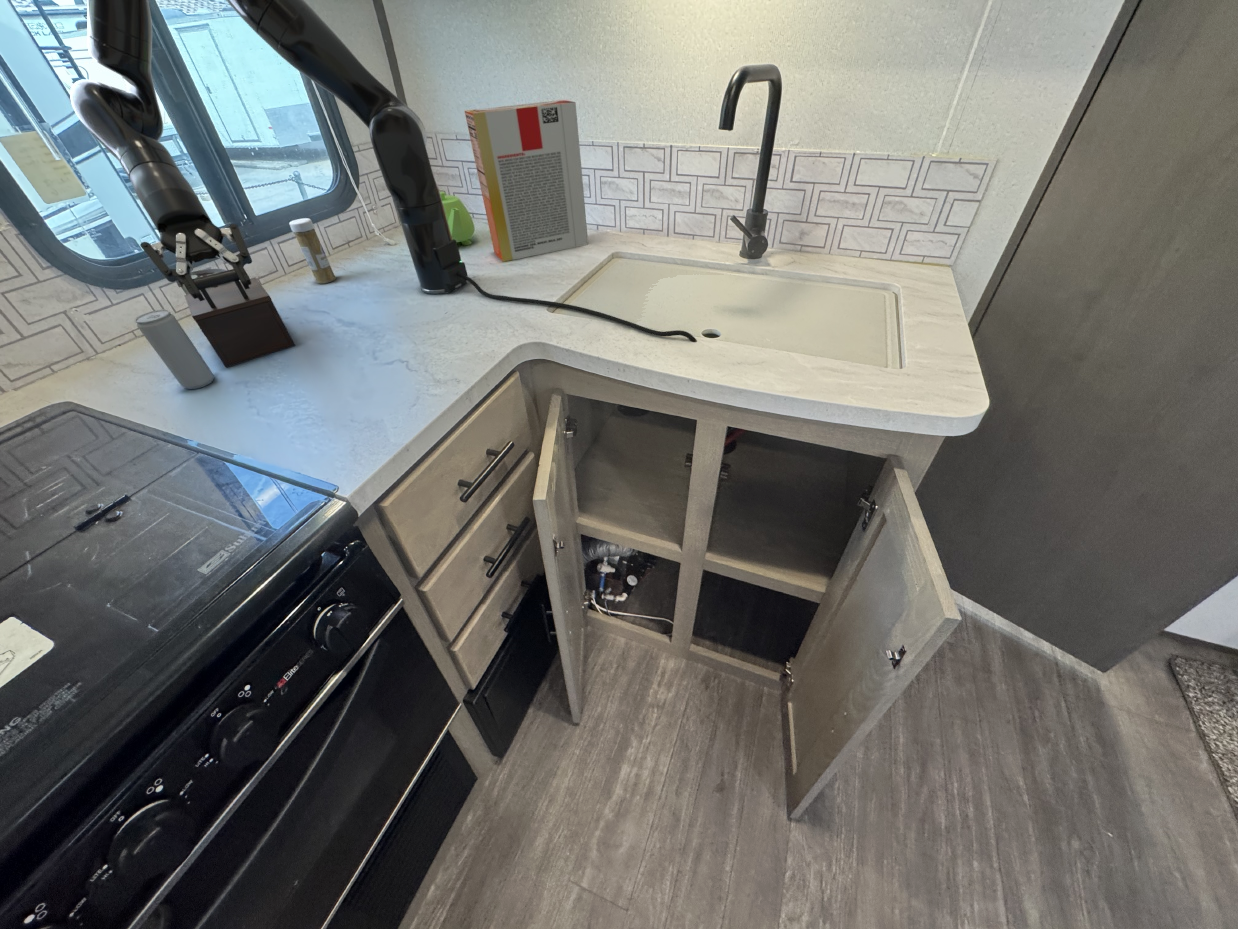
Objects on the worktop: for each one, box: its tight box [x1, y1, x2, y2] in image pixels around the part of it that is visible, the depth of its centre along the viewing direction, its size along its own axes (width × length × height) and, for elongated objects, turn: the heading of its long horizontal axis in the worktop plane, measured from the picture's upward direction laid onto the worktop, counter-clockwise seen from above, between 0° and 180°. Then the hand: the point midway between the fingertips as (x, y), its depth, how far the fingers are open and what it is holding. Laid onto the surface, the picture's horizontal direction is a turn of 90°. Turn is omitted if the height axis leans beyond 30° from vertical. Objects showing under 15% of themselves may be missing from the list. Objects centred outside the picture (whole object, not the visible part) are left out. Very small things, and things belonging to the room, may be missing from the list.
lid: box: [184, 268, 273, 322], centre depth 86 cm, size 13×12×6 cm
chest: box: [195, 300, 296, 368], centre depth 91 cm, size 13×12×9 cm
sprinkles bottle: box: [288, 217, 337, 285], centre depth 114 cm, size 5×5×13 cm
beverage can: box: [134, 309, 215, 390], centre depth 80 cm, size 5×5×12 cm
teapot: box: [439, 190, 476, 246], centre depth 132 cm, size 20×13×13 cm
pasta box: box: [464, 99, 589, 263], centre depth 118 cm, size 23×8×30 cm, turn 116°
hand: (224, 291), depth 82 cm, fingers closed on lid, 6 cm apart
